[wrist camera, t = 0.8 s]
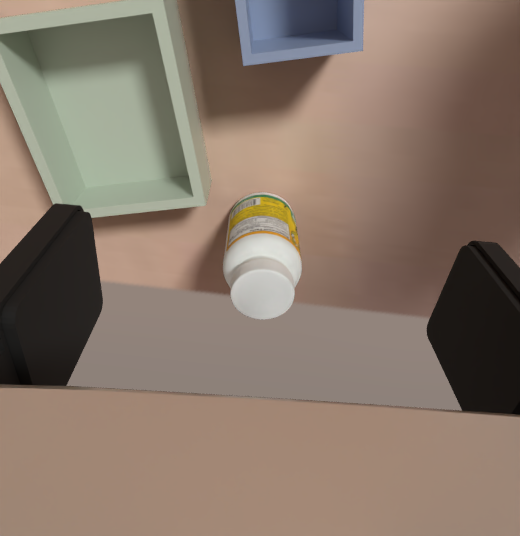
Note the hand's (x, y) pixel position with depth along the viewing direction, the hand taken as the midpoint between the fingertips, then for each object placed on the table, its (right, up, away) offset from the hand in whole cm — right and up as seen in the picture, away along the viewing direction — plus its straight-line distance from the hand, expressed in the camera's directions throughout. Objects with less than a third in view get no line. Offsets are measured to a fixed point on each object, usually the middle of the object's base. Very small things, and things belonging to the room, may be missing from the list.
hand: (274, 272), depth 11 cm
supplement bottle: (0, +4, +23) cm, 24 cm away
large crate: (-10, +11, +18) cm, 24 cm away
